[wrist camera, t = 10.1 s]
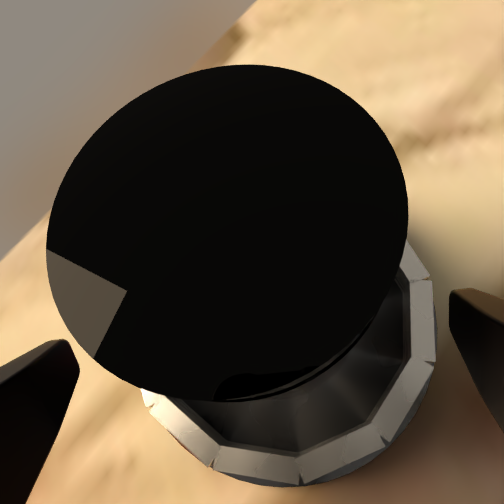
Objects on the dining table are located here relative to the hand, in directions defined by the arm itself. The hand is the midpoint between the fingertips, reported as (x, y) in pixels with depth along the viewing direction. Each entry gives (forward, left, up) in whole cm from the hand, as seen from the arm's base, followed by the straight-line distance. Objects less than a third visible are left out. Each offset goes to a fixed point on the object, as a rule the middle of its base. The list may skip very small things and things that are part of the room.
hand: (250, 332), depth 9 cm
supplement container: (+2, 0, -8) cm, 8 cm away
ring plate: (+2, 0, -8) cm, 9 cm away
